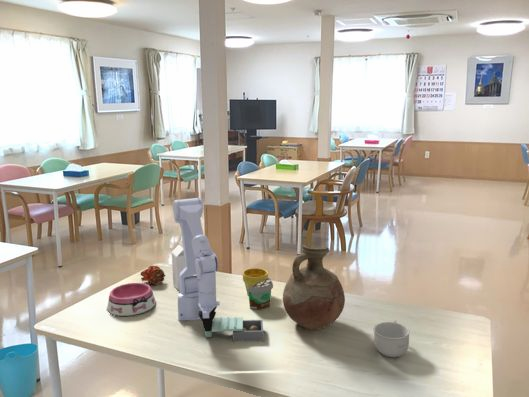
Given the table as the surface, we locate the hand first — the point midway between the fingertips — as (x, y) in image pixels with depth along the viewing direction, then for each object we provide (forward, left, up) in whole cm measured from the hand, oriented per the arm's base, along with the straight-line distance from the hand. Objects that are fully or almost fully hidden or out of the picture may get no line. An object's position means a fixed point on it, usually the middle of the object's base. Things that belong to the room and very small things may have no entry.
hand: (208, 328), depth 152 cm
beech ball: (+11, 0, -3) cm, 12 cm away
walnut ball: (+15, +1, -3) cm, 16 cm away
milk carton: (-15, +44, -4) cm, 46 cm away
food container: (+19, +22, -4) cm, 30 cm away
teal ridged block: (+5, 0, -2) cm, 6 cm away
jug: (+36, +7, -4) cm, 37 cm away
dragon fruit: (-29, +48, -4) cm, 56 cm away
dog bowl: (-32, +26, -4) cm, 41 cm away
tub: (+13, 0, -3) cm, 14 cm away
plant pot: (+16, +34, -4) cm, 38 cm away
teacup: (+59, -10, -4) cm, 60 cm away
